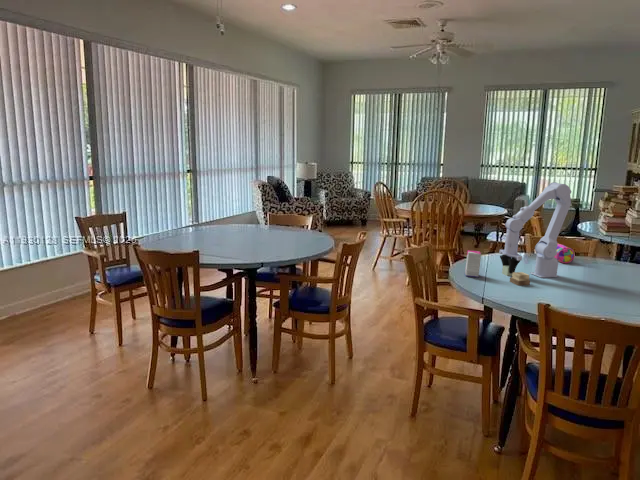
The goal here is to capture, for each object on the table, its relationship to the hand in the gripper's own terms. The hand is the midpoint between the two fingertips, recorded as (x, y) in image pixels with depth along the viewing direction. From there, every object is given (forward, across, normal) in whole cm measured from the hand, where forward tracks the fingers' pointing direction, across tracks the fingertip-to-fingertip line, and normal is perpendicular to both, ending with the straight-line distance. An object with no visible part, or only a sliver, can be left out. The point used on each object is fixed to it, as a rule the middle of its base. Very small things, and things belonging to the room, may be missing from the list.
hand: (508, 271), depth 235 cm
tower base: (+2, +14, -4) cm, 14 cm away
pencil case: (+2, -24, +48) cm, 54 cm away
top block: (+1, 0, 0) cm, 1 cm away
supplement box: (+2, -1, -19) cm, 19 cm away
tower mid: (-1, +14, -4) cm, 15 cm away
